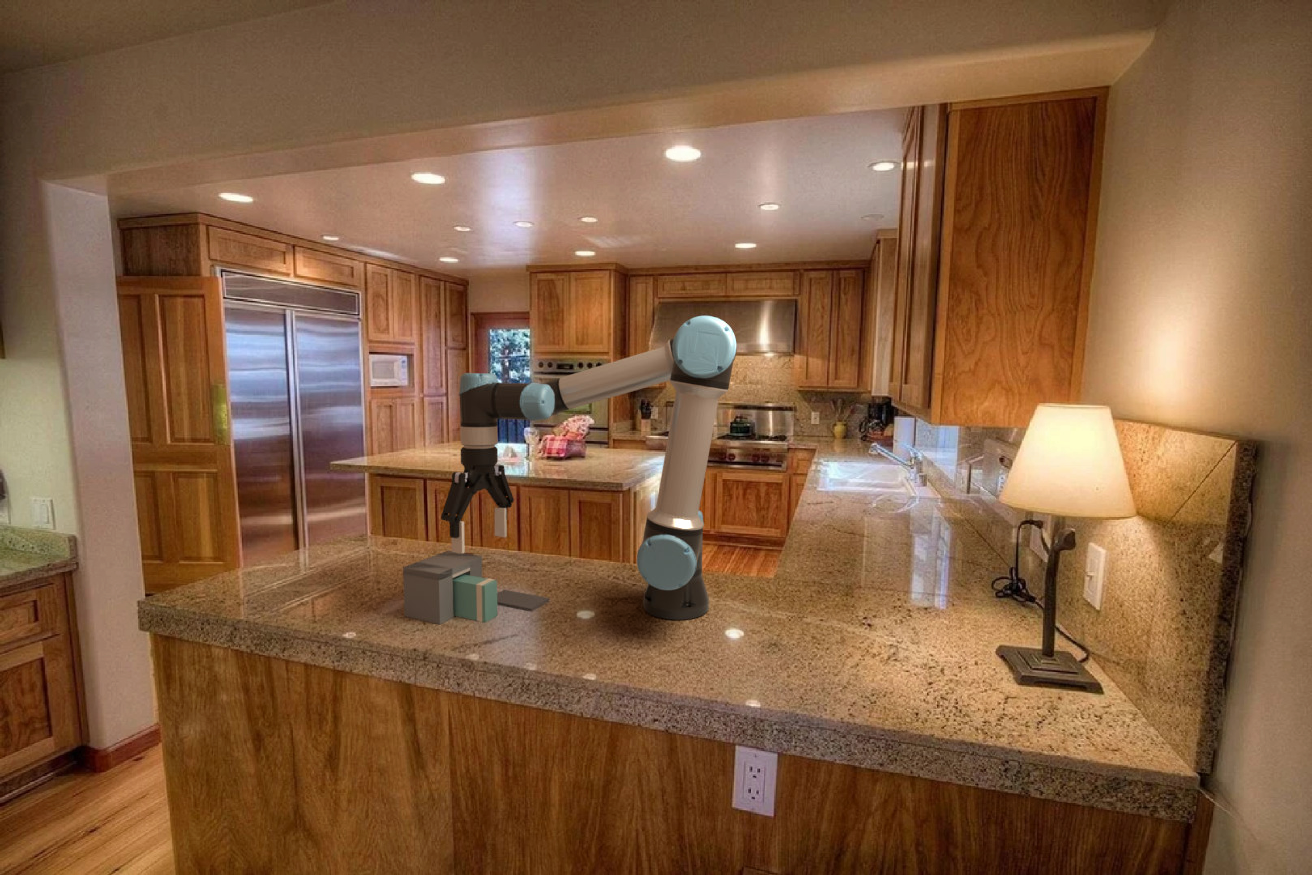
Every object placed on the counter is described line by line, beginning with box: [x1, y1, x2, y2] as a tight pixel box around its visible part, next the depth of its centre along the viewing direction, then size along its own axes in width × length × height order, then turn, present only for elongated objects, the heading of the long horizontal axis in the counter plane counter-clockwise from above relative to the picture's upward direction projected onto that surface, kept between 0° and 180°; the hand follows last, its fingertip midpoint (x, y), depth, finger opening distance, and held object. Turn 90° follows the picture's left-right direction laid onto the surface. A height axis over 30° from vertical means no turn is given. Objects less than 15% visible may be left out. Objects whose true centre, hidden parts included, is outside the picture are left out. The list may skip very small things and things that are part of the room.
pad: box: [497, 589, 550, 612], centre depth 134 cm, size 13×7×1 cm, turn 67°
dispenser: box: [402, 550, 483, 625], centre depth 128 cm, size 10×14×11 cm
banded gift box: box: [453, 574, 498, 623], centre depth 126 cm, size 12×4×8 cm, turn 67°
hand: (480, 544), depth 123 cm, fingers open, 13 cm apart
